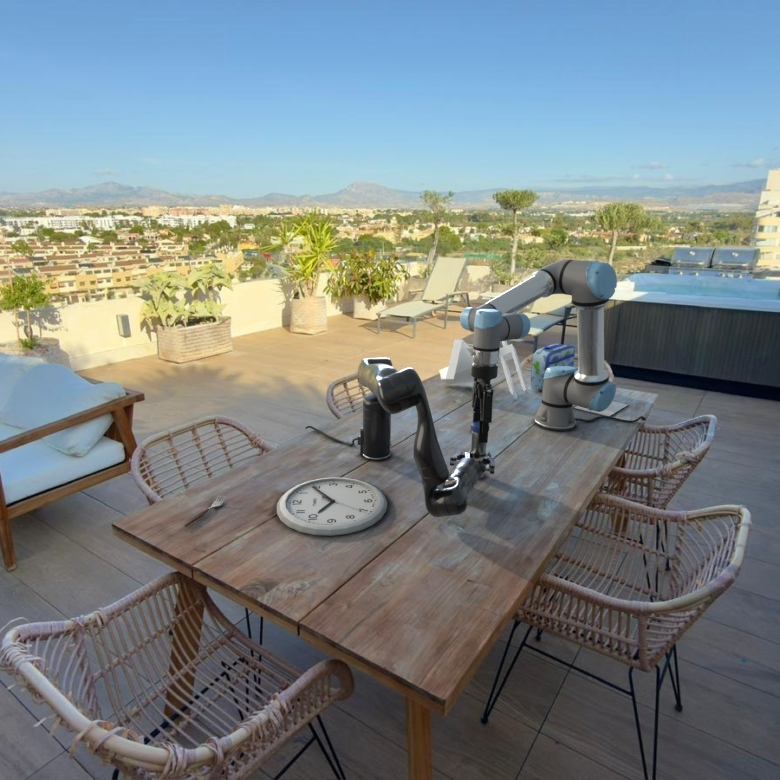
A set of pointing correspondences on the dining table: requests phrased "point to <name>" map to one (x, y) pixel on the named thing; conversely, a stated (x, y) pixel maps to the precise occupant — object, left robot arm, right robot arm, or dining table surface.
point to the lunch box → (550, 361)
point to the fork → (215, 504)
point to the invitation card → (609, 411)
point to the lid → (475, 427)
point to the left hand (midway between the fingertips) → (480, 453)
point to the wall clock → (331, 506)
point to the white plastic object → (463, 363)
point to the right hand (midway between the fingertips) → (479, 437)
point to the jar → (477, 449)
